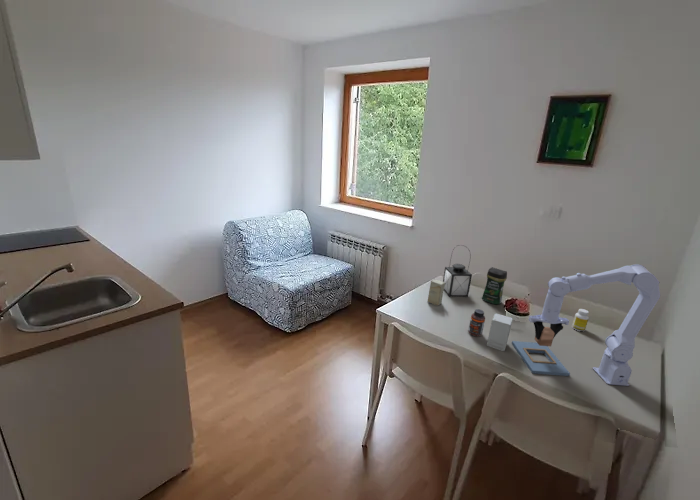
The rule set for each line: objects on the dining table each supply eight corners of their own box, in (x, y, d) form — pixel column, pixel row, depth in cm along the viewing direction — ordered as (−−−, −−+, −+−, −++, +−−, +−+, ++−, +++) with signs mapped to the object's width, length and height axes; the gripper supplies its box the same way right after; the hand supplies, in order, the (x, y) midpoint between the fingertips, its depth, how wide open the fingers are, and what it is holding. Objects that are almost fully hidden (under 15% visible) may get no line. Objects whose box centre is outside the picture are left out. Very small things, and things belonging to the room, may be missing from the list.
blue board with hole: (569, 376, 134) (570, 372, 134) (531, 373, 134) (532, 369, 134) (544, 345, 153) (545, 342, 153) (511, 343, 153) (512, 340, 153)
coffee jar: (479, 300, 192) (486, 268, 186) (485, 295, 198) (491, 264, 192) (497, 306, 186) (504, 273, 180) (503, 301, 192) (510, 270, 186)
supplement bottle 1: (466, 334, 158) (471, 311, 155) (469, 328, 163) (473, 306, 160) (480, 338, 156) (485, 315, 152) (482, 332, 161) (487, 310, 157)
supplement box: (504, 351, 147) (510, 325, 143) (486, 345, 150) (491, 319, 146) (507, 343, 153) (513, 317, 149) (489, 338, 156) (494, 312, 152)
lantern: (468, 296, 196) (477, 248, 187) (448, 296, 194) (457, 248, 185) (459, 288, 206) (468, 242, 197) (441, 288, 205) (448, 241, 196)
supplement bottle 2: (586, 332, 166) (592, 314, 163) (574, 331, 167) (579, 312, 163) (582, 326, 171) (587, 308, 168) (569, 325, 172) (575, 307, 168)
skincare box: (427, 302, 187) (430, 280, 183) (431, 299, 190) (434, 278, 186) (437, 306, 183) (441, 284, 179) (442, 303, 186) (445, 282, 182)
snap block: (551, 346, 139) (554, 333, 137) (539, 345, 139) (543, 332, 137) (545, 339, 144) (549, 327, 142) (534, 339, 144) (537, 326, 142)
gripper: (565, 304, 140) (557, 334, 144) (528, 301, 140) (521, 331, 145) (575, 313, 133) (566, 344, 138) (536, 310, 134) (528, 341, 138)
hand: (543, 338), depth 141 cm, fingers closed on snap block, 4 cm apart
